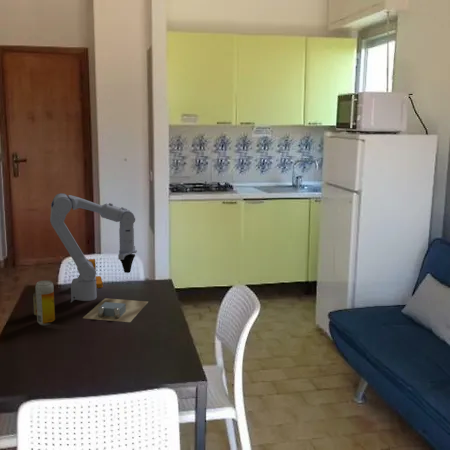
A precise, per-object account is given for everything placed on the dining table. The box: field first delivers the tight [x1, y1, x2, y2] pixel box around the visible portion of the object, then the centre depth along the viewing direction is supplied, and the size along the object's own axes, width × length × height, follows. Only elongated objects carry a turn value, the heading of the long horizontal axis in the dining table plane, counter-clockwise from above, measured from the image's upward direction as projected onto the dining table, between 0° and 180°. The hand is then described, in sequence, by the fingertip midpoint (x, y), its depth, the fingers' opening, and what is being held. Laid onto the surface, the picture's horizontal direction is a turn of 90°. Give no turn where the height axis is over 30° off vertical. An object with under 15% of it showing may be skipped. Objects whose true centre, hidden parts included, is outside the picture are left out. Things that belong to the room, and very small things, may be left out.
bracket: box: [86, 258, 104, 289], centre depth 244 cm, size 11×7×12 cm, turn 17°
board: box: [82, 297, 149, 323], centre depth 214 cm, size 18×22×1 cm
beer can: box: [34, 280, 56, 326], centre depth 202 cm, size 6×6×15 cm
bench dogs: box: [98, 306, 120, 319], centre depth 206 cm, size 8×2×4 cm, turn 80°
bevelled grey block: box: [100, 302, 126, 317], centre depth 210 cm, size 8×6×3 cm
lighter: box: [32, 291, 37, 316], centre depth 211 cm, size 7×4×10 cm, turn 96°
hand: (127, 272), depth 230 cm, fingers closed
